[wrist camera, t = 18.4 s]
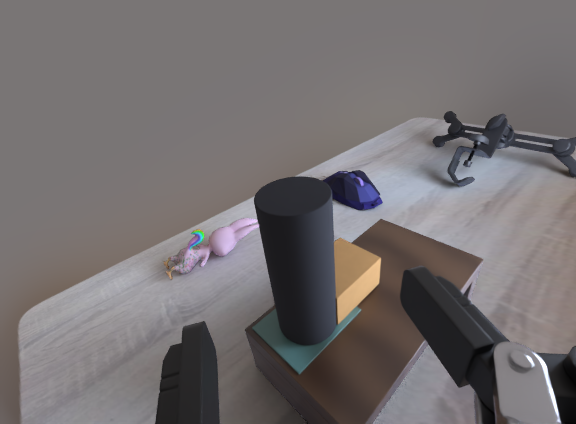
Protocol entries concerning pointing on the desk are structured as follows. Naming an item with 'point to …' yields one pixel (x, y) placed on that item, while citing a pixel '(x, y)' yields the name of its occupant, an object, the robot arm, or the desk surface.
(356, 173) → the computer mouse
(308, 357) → the low wooden bench
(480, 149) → the tablet mount
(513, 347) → the robot arm
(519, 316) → the desk surface
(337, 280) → the cylinder with tan block
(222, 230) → the rabbit figure
